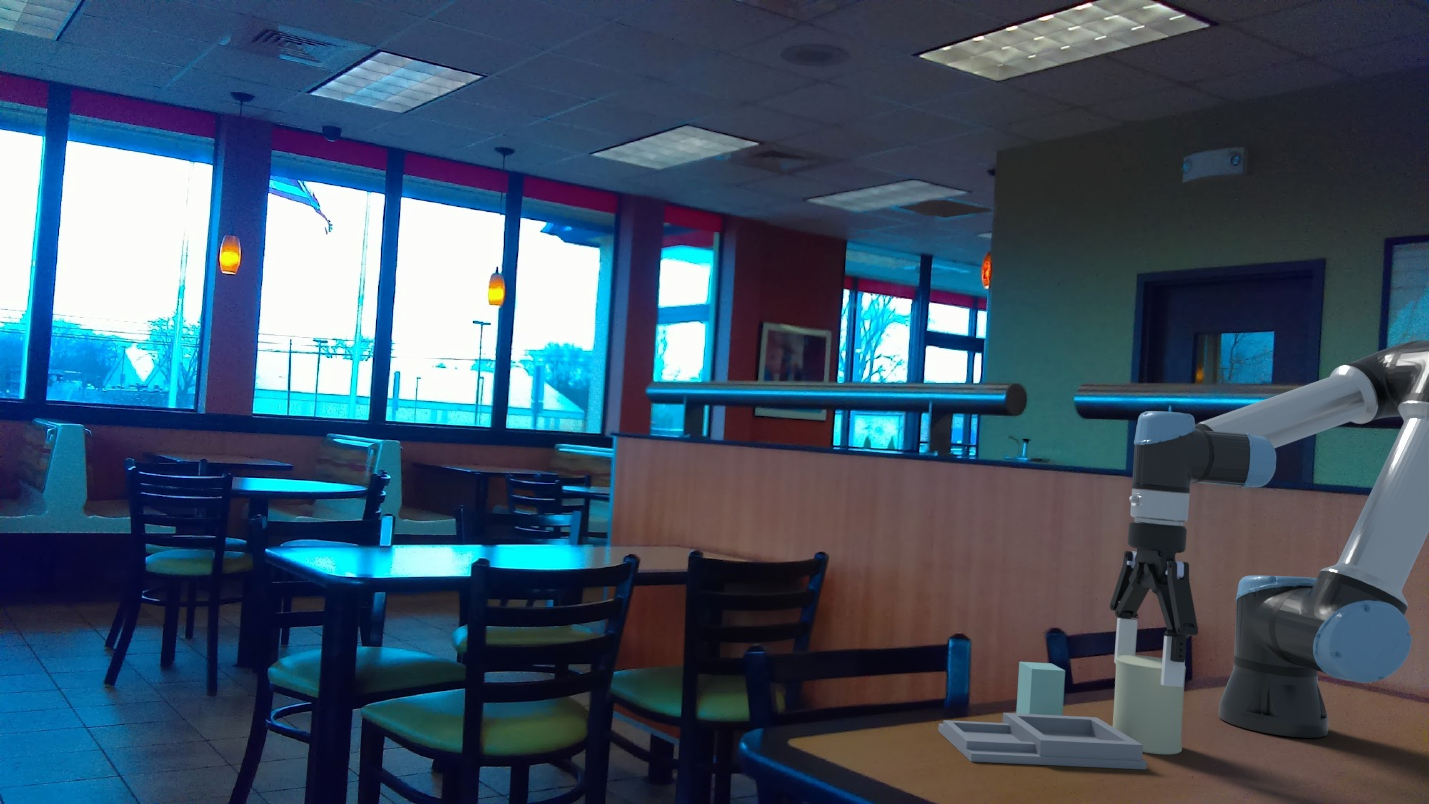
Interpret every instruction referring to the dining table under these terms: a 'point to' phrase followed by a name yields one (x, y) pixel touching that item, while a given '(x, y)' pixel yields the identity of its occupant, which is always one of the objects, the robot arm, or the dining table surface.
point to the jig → (1045, 741)
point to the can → (1147, 705)
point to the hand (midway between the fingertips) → (1146, 674)
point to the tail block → (1040, 689)
